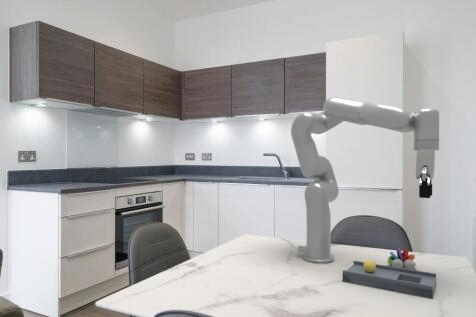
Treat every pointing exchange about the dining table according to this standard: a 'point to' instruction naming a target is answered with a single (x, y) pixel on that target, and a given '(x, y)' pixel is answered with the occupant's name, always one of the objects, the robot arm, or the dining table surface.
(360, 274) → the tray
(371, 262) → the ball
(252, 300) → the dining table surface
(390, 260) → the rainbow white-lobed toy
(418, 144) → the robot arm
